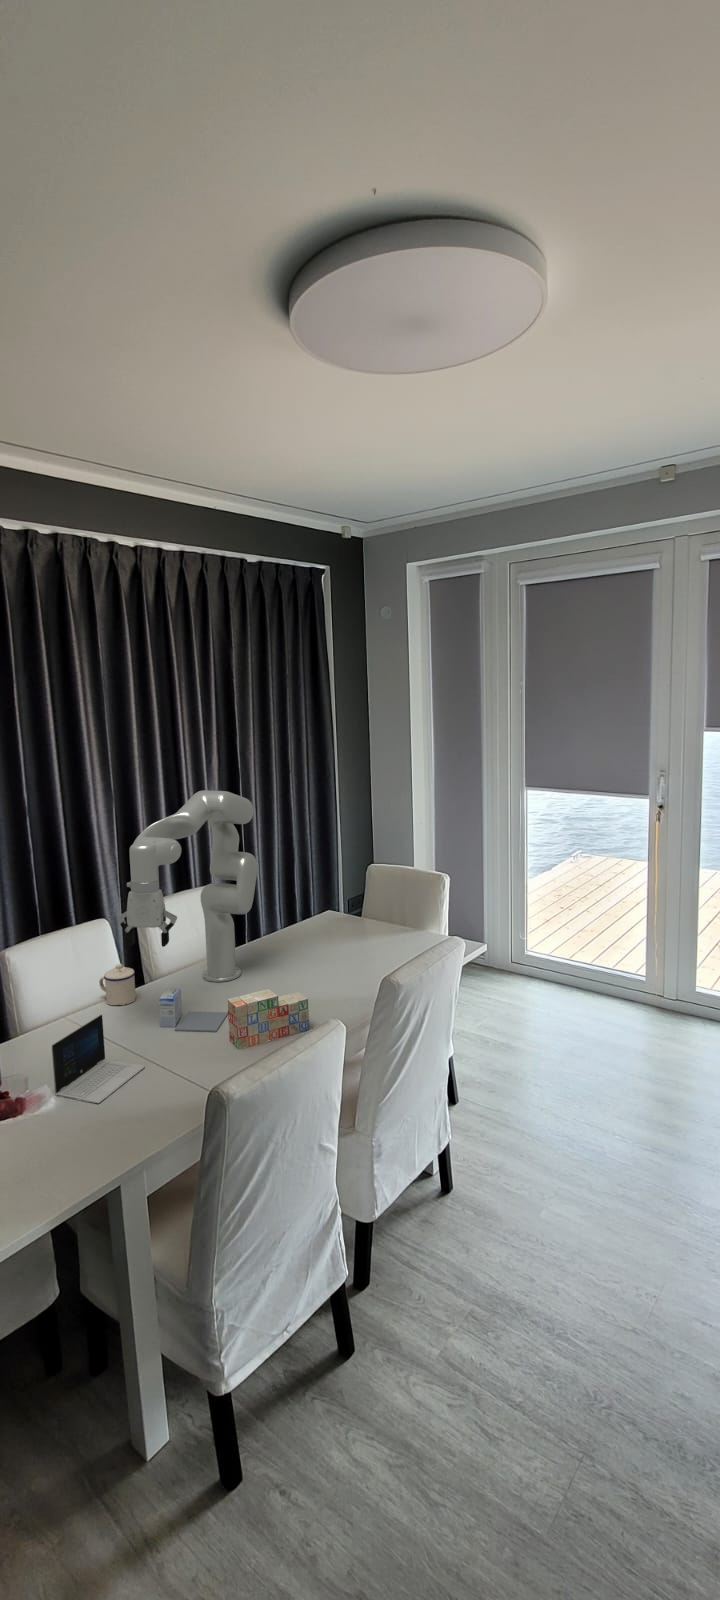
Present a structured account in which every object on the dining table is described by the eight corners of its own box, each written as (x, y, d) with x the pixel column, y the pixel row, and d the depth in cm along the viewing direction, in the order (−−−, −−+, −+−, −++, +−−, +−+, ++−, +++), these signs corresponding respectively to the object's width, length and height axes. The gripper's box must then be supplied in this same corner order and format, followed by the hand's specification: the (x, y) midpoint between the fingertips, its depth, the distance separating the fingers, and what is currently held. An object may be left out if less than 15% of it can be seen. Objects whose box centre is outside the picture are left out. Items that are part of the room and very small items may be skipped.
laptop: (98, 1105, 171) (94, 1052, 169) (54, 1097, 175) (50, 1045, 174) (145, 1068, 188) (142, 1019, 186) (104, 1061, 192) (101, 1013, 190)
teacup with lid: (142, 996, 233) (140, 961, 231) (124, 1008, 224) (122, 971, 223) (110, 992, 237) (107, 957, 235) (91, 1003, 228) (88, 967, 226)
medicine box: (167, 1015, 219) (165, 987, 217) (182, 1015, 219) (180, 987, 217) (160, 1027, 211) (158, 998, 210) (176, 1027, 211) (174, 998, 210)
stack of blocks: (299, 1022, 213) (298, 981, 211) (309, 1030, 207) (308, 988, 206) (229, 1041, 202) (227, 998, 200) (237, 1050, 197) (235, 1006, 195)
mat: (188, 1013, 220) (188, 1011, 220) (228, 1013, 219) (228, 1012, 219) (174, 1031, 208) (174, 1029, 208) (216, 1032, 207) (216, 1030, 207)
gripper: (110, 889, 207) (113, 948, 209) (170, 890, 205) (173, 949, 207) (121, 882, 214) (124, 940, 216) (179, 883, 212) (182, 941, 215)
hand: (148, 944), depth 212 cm, fingers open, 9 cm apart
